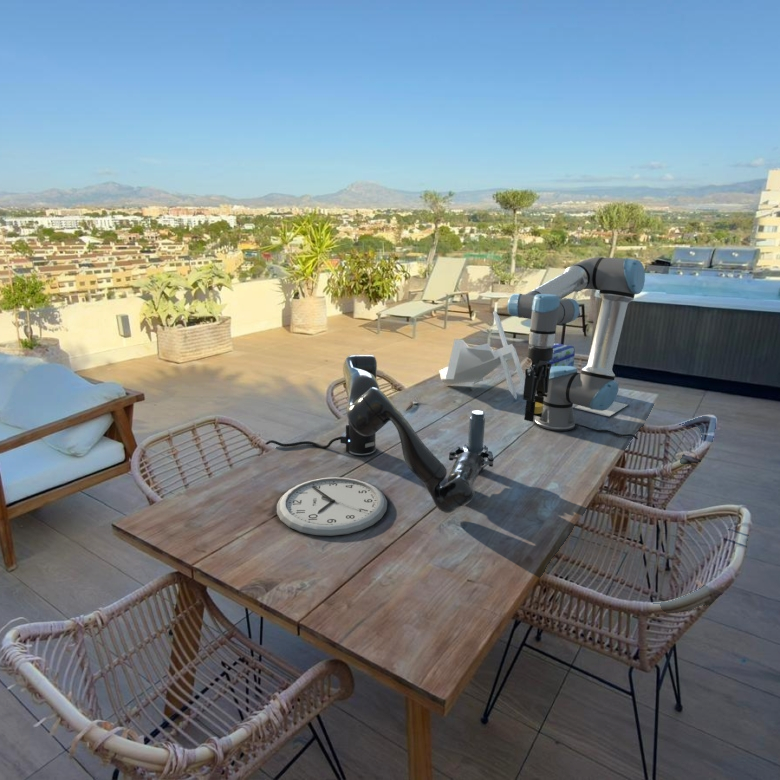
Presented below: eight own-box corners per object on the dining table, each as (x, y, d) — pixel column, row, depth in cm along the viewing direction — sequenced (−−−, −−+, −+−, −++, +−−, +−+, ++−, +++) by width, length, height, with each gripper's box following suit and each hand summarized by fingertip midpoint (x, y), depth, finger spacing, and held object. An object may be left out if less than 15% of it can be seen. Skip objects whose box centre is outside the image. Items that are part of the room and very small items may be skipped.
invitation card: (608, 416, 214) (573, 407, 224) (608, 416, 214) (573, 408, 224) (628, 404, 229) (594, 396, 238) (628, 405, 229) (594, 397, 238)
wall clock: (392, 527, 129) (268, 531, 127) (391, 533, 130) (269, 537, 127) (383, 473, 158) (282, 475, 155) (383, 478, 158) (282, 480, 156)
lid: (540, 408, 167) (540, 401, 166) (544, 413, 162) (545, 407, 161) (523, 408, 167) (524, 401, 166) (527, 413, 162) (528, 406, 161)
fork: (403, 411, 216) (403, 406, 215) (414, 400, 230) (414, 395, 230) (409, 412, 215) (409, 407, 215) (420, 400, 229) (420, 396, 229)
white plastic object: (461, 429, 252) (437, 405, 227) (444, 352, 274) (420, 323, 250) (535, 404, 240) (518, 377, 215) (510, 326, 262) (492, 293, 237)
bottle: (472, 473, 163) (476, 415, 157) (463, 467, 167) (467, 411, 161) (484, 470, 165) (488, 413, 159) (475, 464, 169) (479, 409, 163)
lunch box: (547, 395, 239) (552, 351, 233) (526, 390, 247) (530, 347, 240) (574, 384, 257) (579, 343, 251) (554, 380, 264) (558, 339, 258)
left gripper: (491, 461, 148) (500, 439, 163) (442, 453, 152) (455, 433, 168) (490, 485, 150) (498, 461, 165) (441, 476, 154) (454, 454, 170)
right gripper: (542, 340, 167) (534, 408, 174) (515, 348, 154) (508, 422, 161) (565, 343, 163) (556, 414, 170) (539, 352, 149) (531, 428, 156)
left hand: (476, 447), depth 166 cm, fingers closed on bottle, 4 cm apart
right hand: (533, 418), depth 165 cm, fingers closed on lid, 5 cm apart
